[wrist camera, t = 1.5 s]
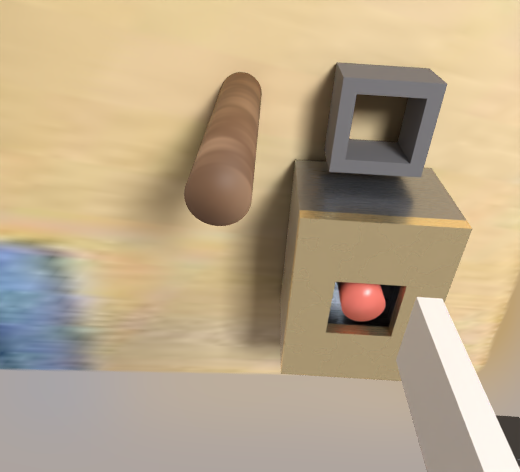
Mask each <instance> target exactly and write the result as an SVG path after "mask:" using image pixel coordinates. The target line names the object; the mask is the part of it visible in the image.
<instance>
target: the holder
mask: <svg viewBox="0 0 520 472" xmlns="http://www.w3.org/2000/svg"><path fill="white" fill-rule="evenodd" d="M446 86H447V83H445V82H444V81H443V80H442V79H441V78H440V77H439V76H437V75H436V74H435V73H434V72H433V71H432V70H430V69H427V68H412V67H397V66H382V65H366V64H351V63H337V64H336V71H335V78H334V85H333V92H332V99H331V106H330V113H329V120H328V127H327V134H326V141H325V148H324V151H325V155H326V160H327V164H328V169H329V172H342V173H358V174H373V175H389V176H404V177H420V178H421V175H422V172H423V168H424V165H425V161H426V157H427V154H428V150H429V147H430V143H431V140H432V136H433V133H434V129H435V125H436V122H437V118H438V115H439V111H440V108H441V104H442V101H443V97H444V94H445V90H446ZM357 94H364V95H379V96H394V97H408V101H407V105H406V109H405V113H404V117H403V122H402V126H401V130H400V134H399V138H398V142H385V141H370V140H354V139H349V136H350V130H351V124H352V118H353V113H354V107H355V101H356V95H357Z"/></svg>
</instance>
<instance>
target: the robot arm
mask: <svg viewBox="0 0 520 472" xmlns="http://www.w3.org/2000/svg"><path fill="white" fill-rule="evenodd" d="M396 362H397V366H398V369H399V373H400V377H401V380H402V384H403V387H404V390H405V394H406V398H407V402H408V405H409V409H410V412H411V416H412V420H413V423H414V427H415V430H416V434H417V437H418V441H419V445H420V448H421V451H422V455H423V459H424V463H425V466H426V470H427V472H520V418H519V417H511V416H496V415H495V413H494V411H493V409H492V407H491V405H490V402H489V400H488V398H487V396H486V394H485V391H484V390H483V387H482V385H481V383H480V380H479V378H478V376H477V374H476V372H475V369H474V367H473V365H472V363H471V361H470V358H469V356H468V354H467V352H466V350H465V347H464V345H463V343H462V341H461V339H460V336H459V334H458V332H457V330H456V328H455V325H454V323H453V321H452V319H451V317H450V314H449V312H448V310H447V308H446V306H445V303H444V301H443V299H440V298H425V297H416V300H415V303H414V306H413V309H412V312H411V315H410V318H409V322H408V325H407V328H406V331H405V334H404V337H403V340H402V343H401V346H400V349H399V352H398V355H397V358H396Z"/></svg>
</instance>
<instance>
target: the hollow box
mask: <svg viewBox="0 0 520 472" xmlns="http://www.w3.org/2000/svg"><path fill="white" fill-rule="evenodd" d="M471 231H472V228H471V226H470V225H469V223H468V222H467V220H466V219H465V217H464V216H463V214H462V213H461V211H460V210H459V208H458V207H457V205H456V204H455V202H454V201H453V199H452V198H451V197H450V195H449V194H448V192H447V191H446V189H445V188H444V186H443V185H442V183H441V182H440V180H439V179H438V177H437V176H436V174H435V173H434V171H433V170H432V168H423V172H422V175H421V178H420V177H404V176H389V175H373V174H358V173H342V172H329V169H328V164H327V162H325V161H309V160H295V166H294V175H293V185H292V194H291V203H290V213H289V222H288V231H287V241H286V250H285V259H284V269H283V278H282V287H281V297H280V332H281V374H295V375H311V376H328V377H344V378H345V377H346V378H363V379H377V380H393V381H402V380H401V377H400V373H399V369H398V366H397V362H396V358H397V355H398V352H399V349H400V346H401V343H402V340H403V337H404V334H405V331H406V328H407V325H408V322H409V318H410V315H411V312H412V309H413V306H414V303H415V300H416V297H425V298H440V299H443V301H444V302H445V299H446V297H447V294H448V291H449V289H450V286H451V284H452V281H453V278H454V276H455V273H456V270H457V268H458V265H459V262H460V260H461V257H462V254H463V252H464V249H465V247H466V244H467V241H468V239H469V236H470V233H471ZM337 282H349V283H365V284H380V285H381V289H382V292H383V295H384V299H385V308H384V310H383V312H382V313H381V314H380V315H379V316H378V317H376V318H374V319H372V320H369V321H354V320H351V319H349V318H348V317H346V316H345V315H344V313H343V311H342V307H341V302H340V296H339V290H338V285H337Z"/></svg>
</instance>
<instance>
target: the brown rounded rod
mask: <svg viewBox="0 0 520 472" xmlns="http://www.w3.org/2000/svg"><path fill="white" fill-rule="evenodd" d="M261 95H262V94H261V87H260V84H259V83H258V81H257V80H256V79H255V78H254V77H253V76H252V75H250V74H247V73H243V72H238V73H234V74H232V75H230V76H229V77H227V78H226V80H225V81H224V83H223V85H222V87H221V90H220V93H219V96H218V98H217V101H216V104H215V107H214V109H213V112H212V115H211V118H210V120H209V123H208V126H207V129H206V131H205V134H204V137H203V140H202V142H201V145H200V148H199V151H198V153H197V156H196V159H195V162H194V164H193V167H192V170H191V173H190V175H189V178H188V181H187V184H186V186H185V191H184V197H185V202H186V205H187V207H188V209H189V210H190V212H191V213H192V214H193V215H194V216H195V217H196V218H197V219H199V220H201V221H202V222H204V223H207V224H210V225H215V226H226V225H230V224H233V223H236V222H238V221H239V220H241V219H242V218H243V217H244V216H245V215H246V214H247V212H248V211H249V208H250V206H251V200H252V190H253V179H254V169H255V158H256V148H257V137H258V126H259V116H260V105H261Z"/></svg>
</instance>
